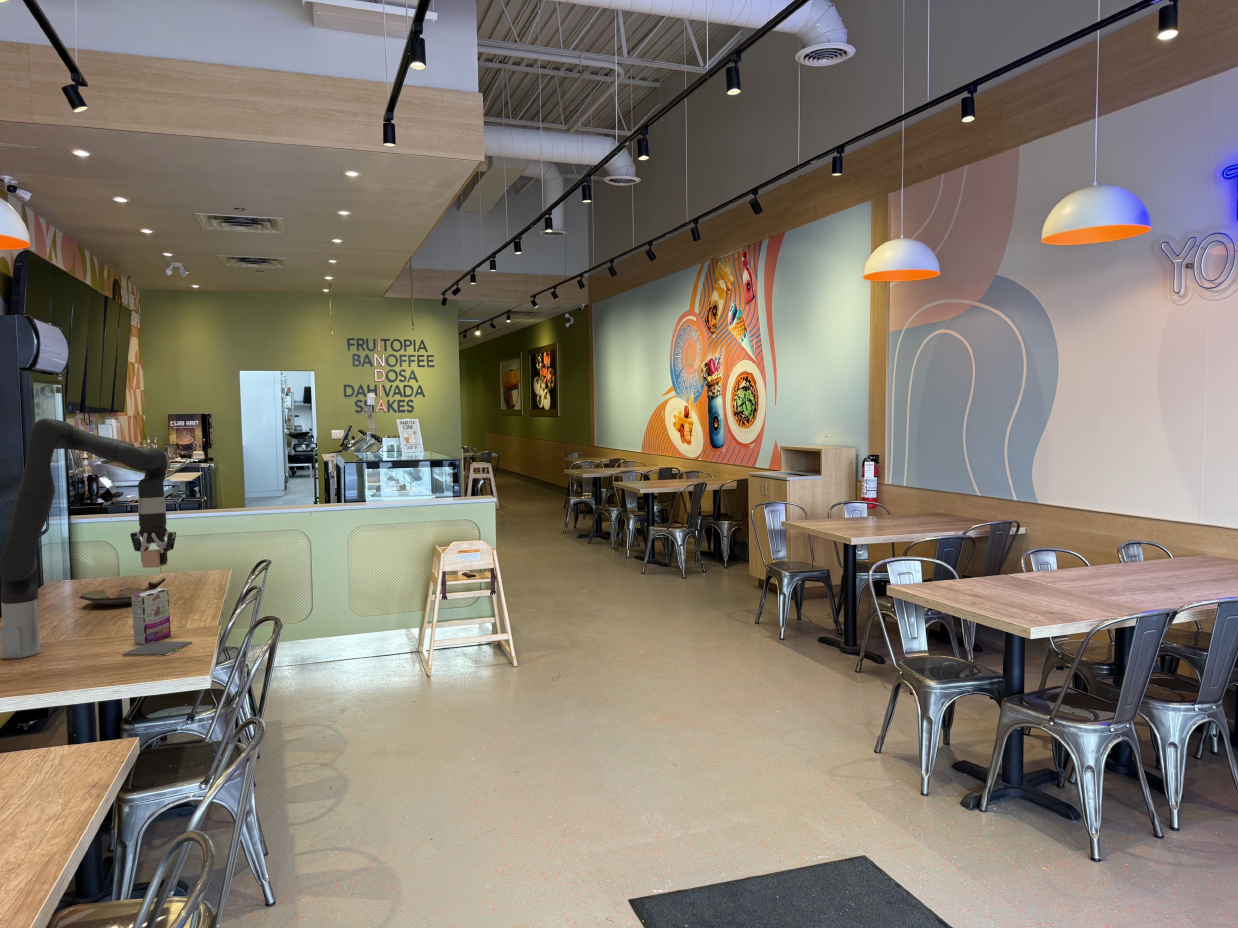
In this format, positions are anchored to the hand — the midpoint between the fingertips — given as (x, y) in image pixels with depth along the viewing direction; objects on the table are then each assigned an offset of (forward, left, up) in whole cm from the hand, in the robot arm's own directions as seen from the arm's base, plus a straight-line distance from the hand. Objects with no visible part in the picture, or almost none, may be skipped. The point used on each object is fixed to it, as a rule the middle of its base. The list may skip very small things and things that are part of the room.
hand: (154, 563), depth 252 cm
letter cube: (0, 0, -1) cm, 1 cm away
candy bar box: (+10, +9, -28) cm, 31 cm away
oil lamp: (+63, +55, -28) cm, 88 cm away
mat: (-1, 0, -28) cm, 28 cm away
